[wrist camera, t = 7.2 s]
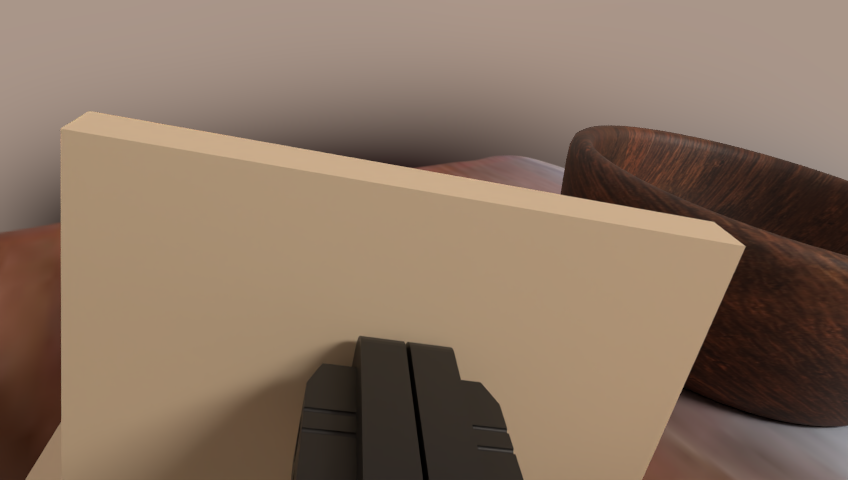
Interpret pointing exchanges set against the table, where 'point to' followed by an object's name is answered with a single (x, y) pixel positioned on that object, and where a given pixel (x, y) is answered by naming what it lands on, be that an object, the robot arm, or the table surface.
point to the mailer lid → (353, 303)
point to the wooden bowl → (745, 262)
